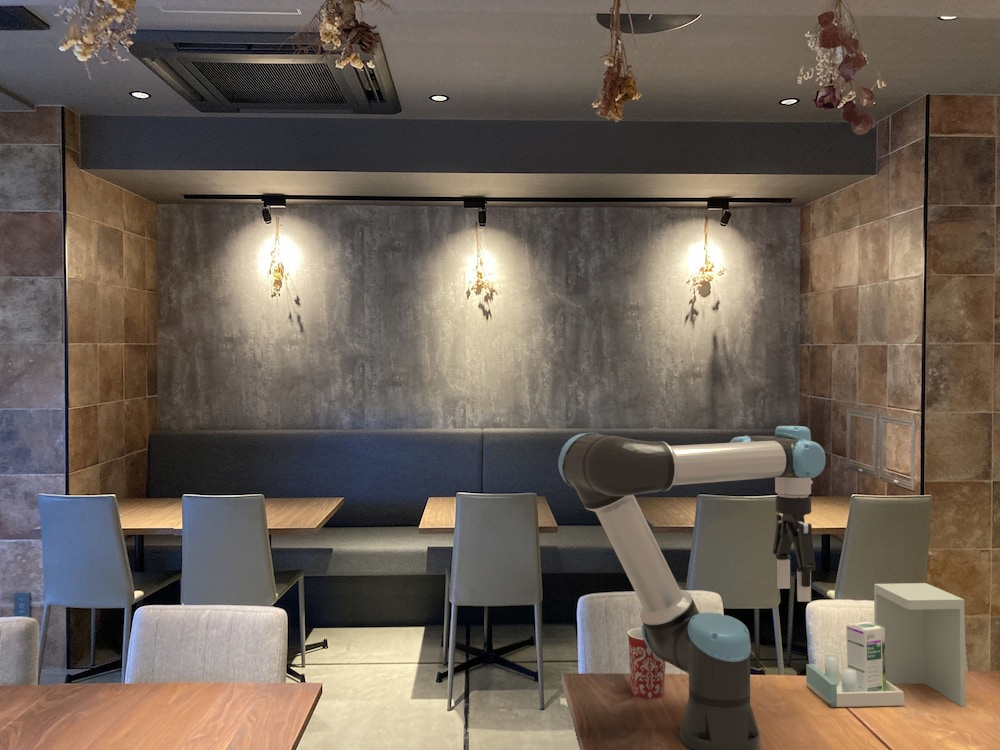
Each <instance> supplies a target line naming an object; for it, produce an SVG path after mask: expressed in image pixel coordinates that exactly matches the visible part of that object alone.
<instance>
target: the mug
mask: <svg viewBox="0 0 1000 750" xmlns="http://www.w3.org/2000/svg"><path fill="white" fill-rule="evenodd" d="M627 638H628V653H629V655H628V656H629V672H630V688H631V689H630V690H631V691H630V692H631V694H633V695H634V696H636V697H639V698H643V699H658V698H660V697H662V696H664V694H665V680H666V679H665V678H666V676H665V675H666V663H667V662H666V661H664V660H662V659H660V658H659V657H657V656H656V655H655V654H654V653H653V652H652V651H651V650H650V649H649V648H648V647H647V645H646V643H645V641H644V639H643V636H642V627H636V628H631V629H629V630H628V631H627Z"/></svg>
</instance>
